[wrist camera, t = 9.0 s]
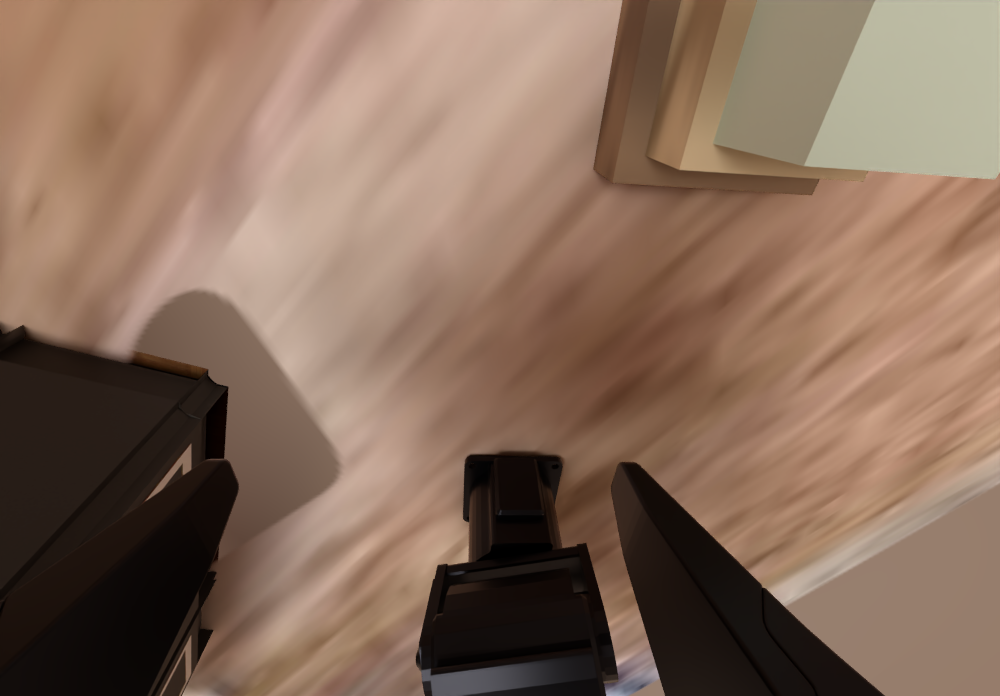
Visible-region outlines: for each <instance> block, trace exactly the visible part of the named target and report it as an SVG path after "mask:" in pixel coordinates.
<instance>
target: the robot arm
mask: <svg viewBox="0 0 1000 696" xmlns="http://www.w3.org/2000/svg"><path fill="white" fill-rule="evenodd" d="M471 463H474V464H471ZM553 464H554V465H553ZM562 467H563V466H562V461H561V459H560V458H559V457H525V456H469V457H467V458H466V459H465V471H464V507H463V519H464V520H465V521H466V522H469V562H467V563H460V564H454V565H448V564H442V565H438V566H437V571H436V575H435V579H433V583H432V587H431V592H430V596H429V601H428V605H427V610H426V614H425V619H424V623H423V628H422V632H421V637H420V641H419V648H418V651H417V654H416V665H417V667H418V668H419V669H420V671H421V673H422V683H423V689H424V694H425V696H606V692H605V687H604V683H613V682H618V673H617V666H616V661H615V655H614V650H613V645H612V640H611V636H610V631H609V627H608V622H607V618H606V614H605V610H604V606H603V602H602V599H601V595H600V591H599V588H598V584H597V581H596V577H595V573H594V570H593V566H592V562H591V559H590V555H589V552H588V548H587V544H586V543H583V544H577V546H574V547H568V548H562V543H561V537H560V532H559V527H558V521H557V516H556V510H555V505H554V504H555V500H556V495H557V490H558V486H559V481H560V476H561V472H562ZM238 490H239V484H238V480H237V478H236V476H235V473H234V471H233V468H232V466H231V464H230V462H229V461H228V460H226V459H208V460H205V461H203V462H202V463H200V464H199V465H197V466H196V467H194V468H193V469H191V470H190V471H189V472H187V473H186V474H184V475H183V476H181V477H180V478H178V479H177V480H175V481H174V482H173V483H171V484H170V485H168V486H167V487H165V488H164V489H162V490H161V491H159V492H158V493H157V494H155V495H154V496H152V497H151V498H149V499H148V500H146V501H145V502H143V503H142V504H141V505H139V506H138V507H136V508H135V509H133V510H132V511H130V512H129V513H128V514H126V515H125V516H123V517H122V518H120V519H119V520H117V521H116V522H114V523H113V524H112V525H110V526H109V527H107V528H106V529H104V530H103V531H101V532H100V533H98V534H97V535H96V536H94V537H93V538H91V539H90V540H88V541H87V542H85V543H84V544H82V545H81V546H80V547H78V548H77V549H75V550H74V551H72V552H71V553H69V554H68V555H66V556H65V557H64V558H62V559H61V560H59V561H58V562H56V563H55V564H53V565H52V566H50V567H49V568H48V569H46V570H45V571H43V572H42V573H40V574H39V575H37V576H36V577H35V578H33V579H32V580H30V581H29V582H27V583H26V584H24V585H23V586H21V587H20V588H19V589H17V590H16V591H14V592H13V593H11V594H10V595H8V596H7V597H6V599H5V600H2V601H0V696H148V695H149V693H150V691H151V689H152V687H153V685H154V682H155V680H156V678H157V676H158V674H159V672H160V670H161V668H162V666H163V664H164V662H165V660H166V658H167V656H168V653H169V651H170V649H171V647H172V645H173V643H174V641H175V639H176V637H177V635H178V633H179V631H180V629H181V627H182V625H183V622H184V620H185V618H186V616H187V614H188V612H189V610H190V608H191V606H192V604H193V602H194V600H195V598H196V596H197V593H198V591H199V589H200V587H201V585H202V583H203V581H204V579H205V577H206V575H207V573H208V571H209V568H210V566H211V564H212V562H213V560H214V557H215V554H216V552H217V549H218V547H219V544H220V541H221V538H222V536H223V533H224V530H225V527H226V525H227V522H228V519H229V516H230V514H231V511H232V508H233V505H234V502H235V500H236V497H237V494H238ZM611 493H612V499H613V504H614V510H615V515H616V520H617V525H618V531H619V536H620V541H621V547H622V551H623V556H624V560H625V563H626V567H627V570H628V574H629V577H630V580H631V584H632V587H633V590H634V594H635V597H636V600H637V604H638V607H639V610H640V614H641V617H642V620H643V624H644V627H645V630H646V634H647V637H648V640H649V644H650V647H651V650H652V653H653V657H654V660H655V663H656V667H657V670H658V673H659V677H660V680H661V683H662V687H663V690H664V693H665V696H885V695H883V694H882V693H881V692H880V691H879V690H878V689H876V688H875V687H874V686H873V685H872V684H871V683H869V682H868V681H867V680H866V679H865V678H864V677H862V676H861V675H860V674H859V673H858V672H857V671H855V670H854V669H853V668H852V667H851V666H849V665H848V664H847V663H846V662H845V661H844V660H843V659H841V658H840V657H839V656H838V655H837V654H836V653H835V652H833V651H832V650H831V649H830V648H829V647H828V646H826V644H824V643H823V642H822V641H821V640H820V639H819V638H818V637H817V636H815V635H814V634H813V633H812V632H811V631H810V630H809V629H807V628H806V627H805V626H804V625H803V624H802V623H801V622H800V621H799V620H798V619H797V618H796V617H795V616H794V615H793V614H792V613H791V612H789V611H788V610H787V609H786V608H785V607H784V606H783V605H782V604H781V603H780V602H779V601H778V600H777V599H776V598H775V597H774V596H773V595H772V594H771V593H770V592H769V591H768V590H767V589H766V588H762V585H761V584H760V583H759V582H758V581H757V580H756V579H755V578H754V577H753V576H752V575H751V574H750V573H749V572H748V571H747V570H746V569H745V568H744V567H743V566H742V565H741V564H740V563H739V562H738V561H737V560H736V559H735V558H734V557H733V556H732V555H731V554H730V553H729V552H728V551H727V550H726V549H725V548H724V547H723V546H722V545H721V544H720V543H719V542H717V541H716V540H715V539H714V538H713V537H712V536H711V535H710V534H709V533H708V532H707V531H706V530H705V529H704V528H703V527H702V526H701V525H700V524H699V523H698V522H697V521H696V520H695V519H694V518H693V517H692V516H691V515H690V514H689V513H688V512H687V511H686V510H685V509H684V508H683V507H682V506H681V505H680V504H679V503H678V502H677V501H676V500H675V499H674V498H673V497H672V496H671V495H670V494H668V493H667V492H666V491H665V490H664V489H663V488H662V487H661V486H660V485H659V484H658V483H657V482H656V481H655V480H654V479H653V478H652V477H651V476H650V475H649V474H648V473H647V472H646V471H645V470H644V469H643V468H642V467H641V466H640V465H639V464H637V463H635V462H620V463H619V464H618V466H617V469H616V472H615V475H614V478H613V482H612V486H611Z"/></svg>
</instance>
